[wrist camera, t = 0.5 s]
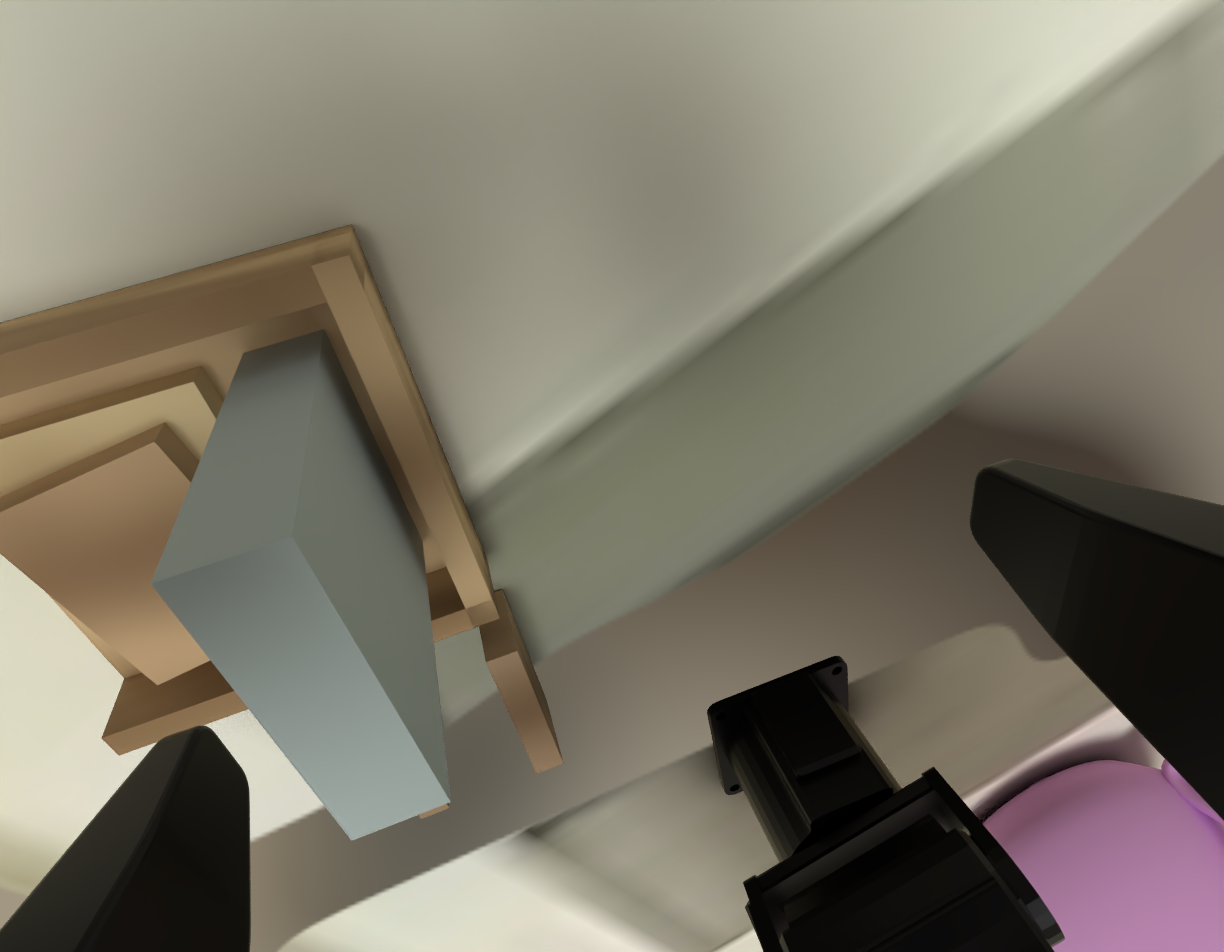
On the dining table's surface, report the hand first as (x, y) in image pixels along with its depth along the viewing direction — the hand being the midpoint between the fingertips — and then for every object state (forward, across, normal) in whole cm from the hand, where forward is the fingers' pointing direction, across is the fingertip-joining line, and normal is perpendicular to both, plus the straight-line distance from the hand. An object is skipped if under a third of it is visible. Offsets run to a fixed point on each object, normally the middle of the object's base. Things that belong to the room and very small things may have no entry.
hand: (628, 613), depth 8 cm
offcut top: (+12, +10, +4) cm, 16 cm away
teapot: (+14, -28, +45) cm, 55 cm away
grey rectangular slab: (+12, +5, +3) cm, 14 cm away
